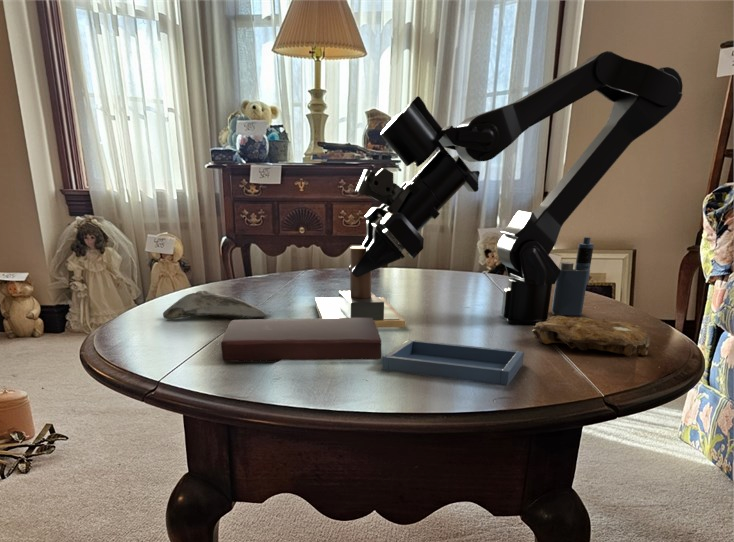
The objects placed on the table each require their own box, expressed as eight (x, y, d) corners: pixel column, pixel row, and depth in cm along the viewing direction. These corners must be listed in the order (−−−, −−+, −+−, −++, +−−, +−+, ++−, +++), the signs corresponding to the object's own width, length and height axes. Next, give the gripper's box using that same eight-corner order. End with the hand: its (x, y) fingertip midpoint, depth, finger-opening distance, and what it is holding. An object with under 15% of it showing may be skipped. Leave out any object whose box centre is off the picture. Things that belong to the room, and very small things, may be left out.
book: (381, 363, 80) (382, 336, 79) (222, 364, 79) (219, 337, 77) (371, 340, 91) (372, 316, 90) (232, 340, 90) (230, 316, 89)
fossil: (256, 302, 98) (161, 288, 99) (253, 333, 100) (160, 319, 101) (275, 299, 109) (189, 286, 110) (273, 327, 110) (188, 314, 111)
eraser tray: (381, 373, 76) (382, 356, 75) (408, 355, 84) (408, 339, 83) (506, 389, 71) (508, 371, 70) (522, 367, 79) (524, 351, 78)
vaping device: (584, 316, 108) (597, 238, 103) (553, 315, 108) (564, 238, 103) (580, 313, 111) (592, 237, 105) (549, 312, 111) (560, 236, 105)
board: (315, 306, 113) (315, 297, 113) (383, 305, 115) (383, 296, 114) (324, 331, 96) (324, 320, 95) (405, 330, 97) (405, 319, 97)
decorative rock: (531, 358, 85) (651, 369, 82) (536, 327, 83) (660, 337, 80) (527, 334, 94) (635, 343, 92) (532, 305, 92) (643, 314, 90)
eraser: (338, 307, 104) (338, 244, 100) (369, 306, 105) (370, 243, 101) (350, 320, 96) (351, 251, 91) (383, 319, 97) (385, 251, 92)
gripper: (379, 148, 99) (308, 227, 103) (403, 144, 83) (318, 238, 86) (427, 205, 104) (358, 279, 107) (459, 212, 87) (376, 299, 91)
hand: (352, 273), depth 98 cm, fingers closed on eraser, 3 cm apart
